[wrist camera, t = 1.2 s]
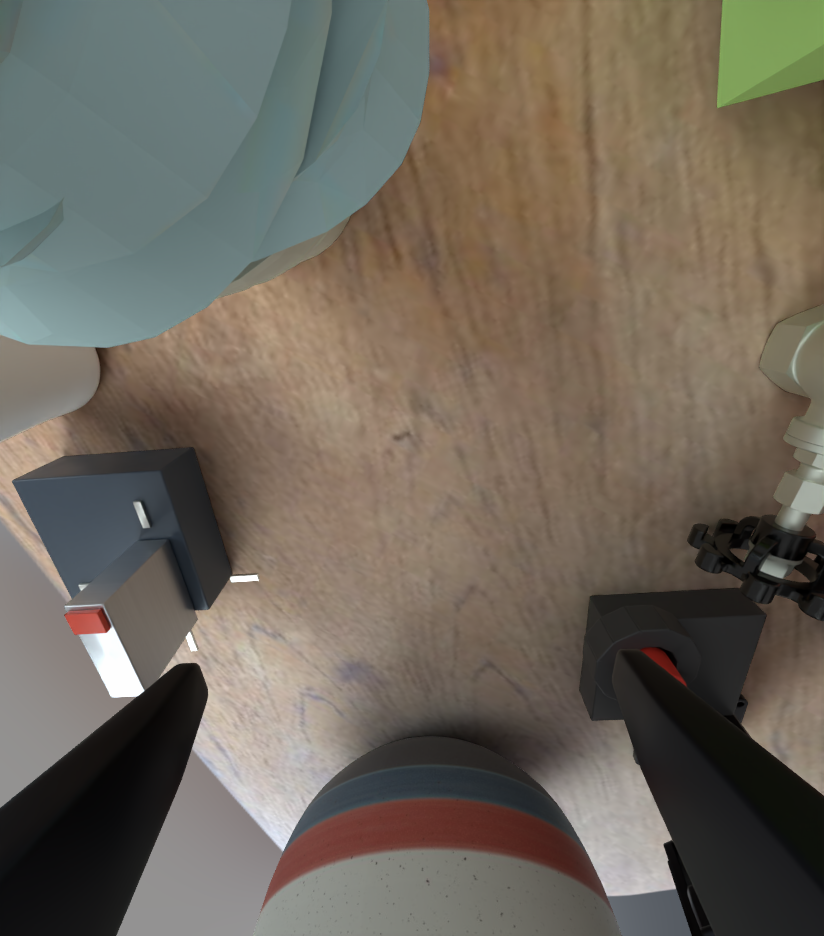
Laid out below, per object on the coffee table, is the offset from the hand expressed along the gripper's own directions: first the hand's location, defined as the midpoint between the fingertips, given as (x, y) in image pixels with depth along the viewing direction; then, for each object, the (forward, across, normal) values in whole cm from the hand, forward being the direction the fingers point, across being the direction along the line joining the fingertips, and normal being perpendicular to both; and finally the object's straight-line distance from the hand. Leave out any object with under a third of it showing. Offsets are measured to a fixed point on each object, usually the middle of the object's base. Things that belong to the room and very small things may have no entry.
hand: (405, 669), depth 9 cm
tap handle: (+10, +12, +5) cm, 17 cm away
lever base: (+13, +13, +5) cm, 19 cm away
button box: (+13, -14, +14) cm, 24 cm away
